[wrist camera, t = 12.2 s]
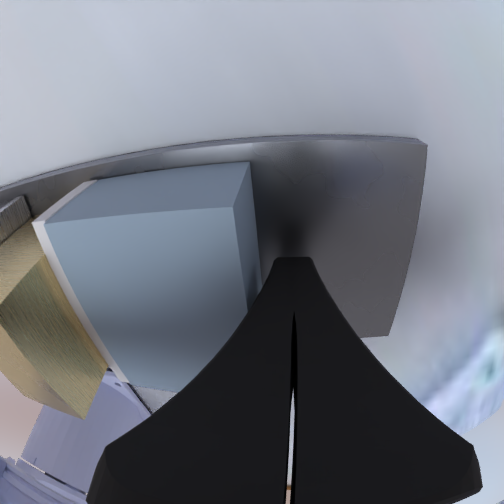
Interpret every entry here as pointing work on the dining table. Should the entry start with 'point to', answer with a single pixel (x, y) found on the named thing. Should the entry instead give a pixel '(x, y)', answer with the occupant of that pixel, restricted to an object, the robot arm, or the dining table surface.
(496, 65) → the dining table surface
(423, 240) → the dining table surface
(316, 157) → the vise
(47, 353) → the tan wooden block
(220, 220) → the block
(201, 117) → the dining table surface
